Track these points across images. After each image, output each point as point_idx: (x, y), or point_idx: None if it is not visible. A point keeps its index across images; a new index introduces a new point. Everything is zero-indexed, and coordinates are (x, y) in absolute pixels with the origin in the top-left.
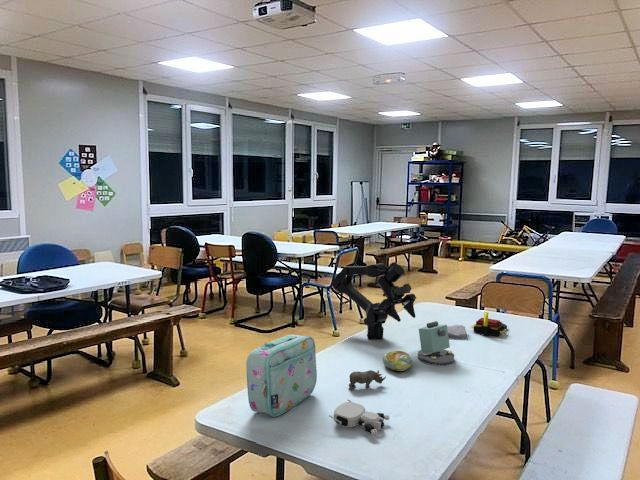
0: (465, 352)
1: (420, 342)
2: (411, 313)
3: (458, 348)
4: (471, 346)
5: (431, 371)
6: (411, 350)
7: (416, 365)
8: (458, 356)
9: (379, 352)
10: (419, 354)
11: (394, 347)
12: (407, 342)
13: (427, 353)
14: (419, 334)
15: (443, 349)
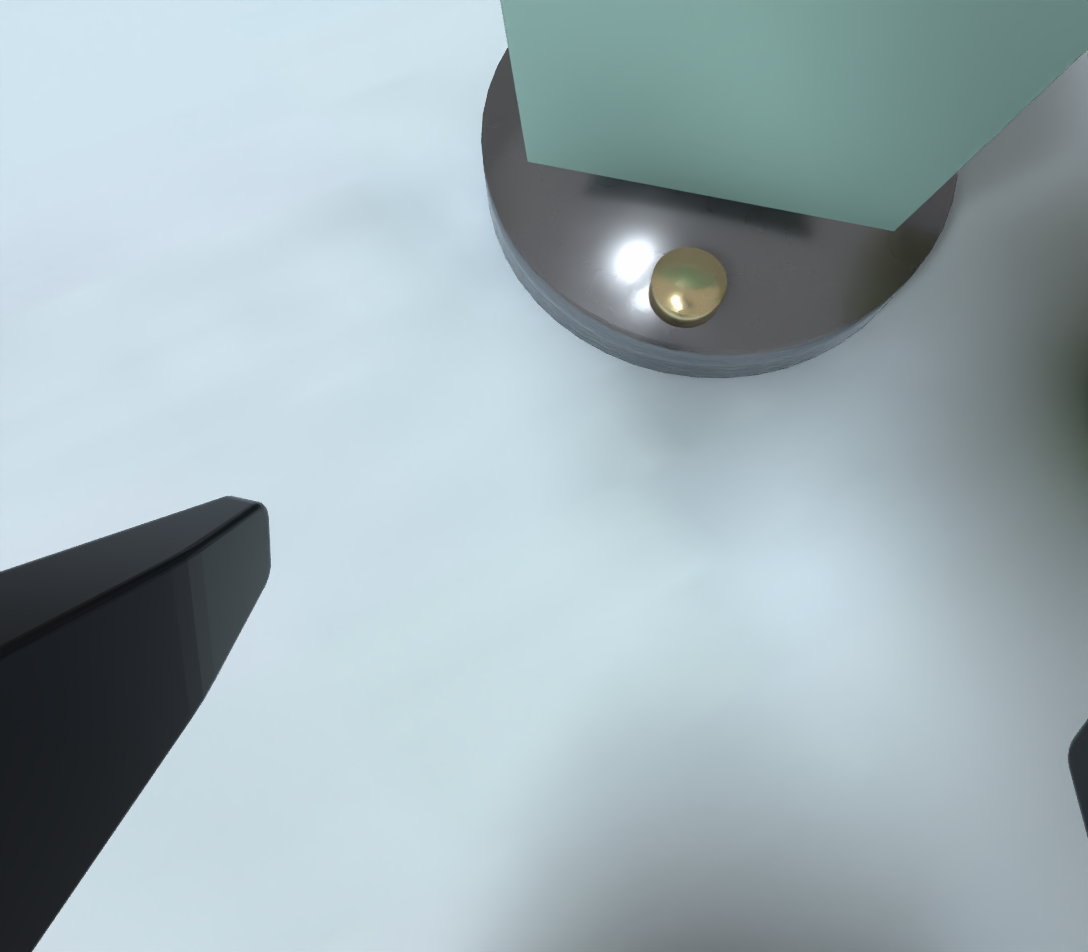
0: (268, 27)
1: (962, 164)
2: (143, 695)
3: (171, 131)
4: (12, 52)
5: (1084, 57)
6: (628, 551)
7: (1066, 246)
8: (449, 32)
9: (1064, 912)
10: (896, 274)
11: (685, 837)
12: (325, 791)
13: (781, 214)
14: (1054, 76)
15: (487, 131)
